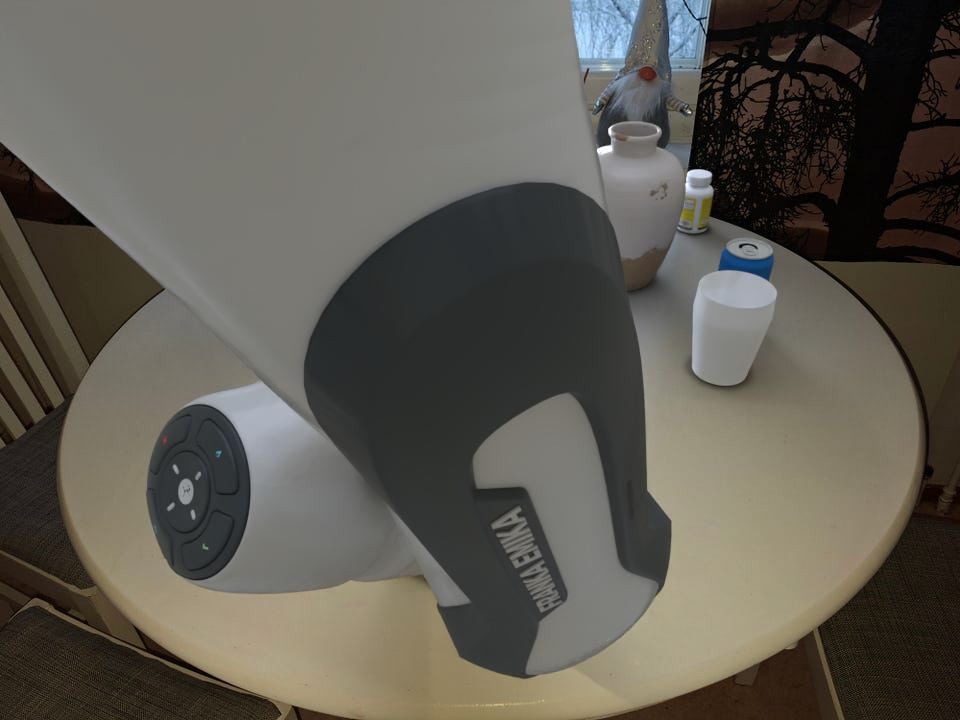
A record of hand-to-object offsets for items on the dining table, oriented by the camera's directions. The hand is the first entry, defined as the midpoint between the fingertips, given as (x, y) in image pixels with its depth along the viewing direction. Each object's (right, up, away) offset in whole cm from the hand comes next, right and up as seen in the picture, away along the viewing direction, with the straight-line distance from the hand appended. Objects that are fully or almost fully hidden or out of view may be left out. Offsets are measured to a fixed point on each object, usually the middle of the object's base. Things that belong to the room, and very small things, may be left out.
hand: (491, 505), depth 53 cm
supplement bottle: (+36, +34, +66) cm, 83 cm away
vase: (+21, +24, +53) cm, 62 cm away
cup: (+29, +10, +33) cm, 45 cm away
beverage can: (+34, +16, +41) cm, 56 cm away
